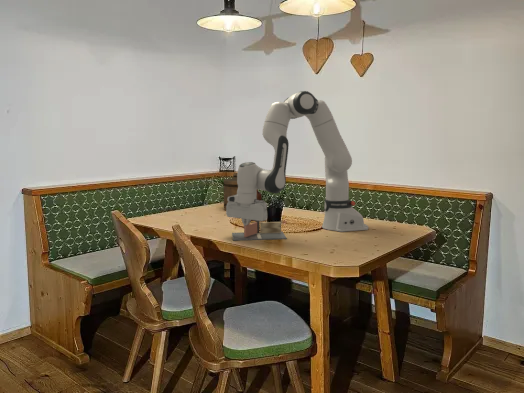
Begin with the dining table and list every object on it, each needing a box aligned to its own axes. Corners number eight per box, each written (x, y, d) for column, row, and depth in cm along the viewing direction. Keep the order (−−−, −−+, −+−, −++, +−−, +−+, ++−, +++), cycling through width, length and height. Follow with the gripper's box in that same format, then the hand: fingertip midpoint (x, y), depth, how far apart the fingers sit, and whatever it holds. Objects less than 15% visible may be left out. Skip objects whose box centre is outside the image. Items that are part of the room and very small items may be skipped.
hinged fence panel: (255, 232, 222) (255, 222, 222) (257, 232, 222) (257, 222, 221) (244, 236, 214) (244, 226, 214) (246, 237, 214) (246, 226, 213)
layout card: (282, 232, 227) (282, 231, 227) (286, 239, 214) (286, 237, 214) (231, 233, 224) (231, 232, 224) (233, 240, 211) (233, 239, 211)
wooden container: (244, 212, 278) (244, 174, 274) (220, 211, 281) (219, 174, 278) (251, 207, 292) (251, 172, 289) (228, 206, 295) (227, 171, 292)
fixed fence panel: (280, 232, 225) (280, 219, 224) (281, 232, 224) (281, 220, 223) (255, 232, 224) (255, 220, 223) (256, 233, 222) (255, 221, 221)
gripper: (270, 199, 212) (269, 230, 214) (232, 195, 222) (231, 224, 224) (263, 201, 207) (262, 232, 209) (224, 197, 217) (224, 227, 219)
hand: (246, 228), depth 217 cm, fingers closed, pressing on hinged fence panel
